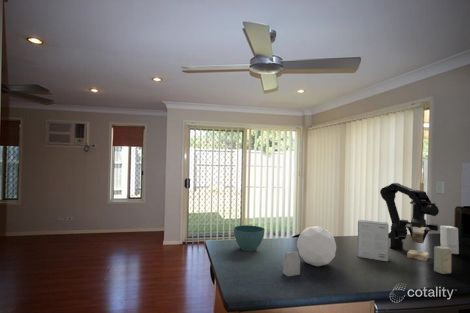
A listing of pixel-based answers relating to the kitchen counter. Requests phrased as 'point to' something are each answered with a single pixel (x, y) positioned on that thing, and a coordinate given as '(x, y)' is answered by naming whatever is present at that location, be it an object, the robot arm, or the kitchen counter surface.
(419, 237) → the wooden cube
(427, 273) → the kitchen counter surface
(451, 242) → the skincare box
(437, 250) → the skincare box
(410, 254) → the oak block
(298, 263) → the grey upright block
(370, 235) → the hard drive box
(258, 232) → the plant pot
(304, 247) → the ball
